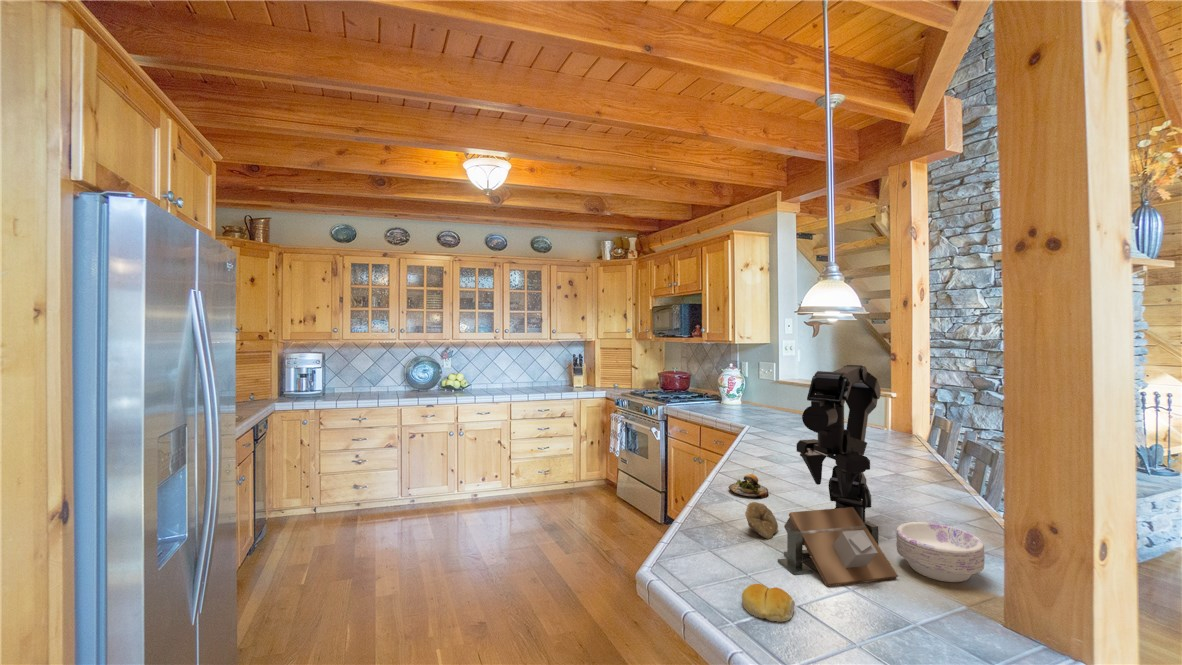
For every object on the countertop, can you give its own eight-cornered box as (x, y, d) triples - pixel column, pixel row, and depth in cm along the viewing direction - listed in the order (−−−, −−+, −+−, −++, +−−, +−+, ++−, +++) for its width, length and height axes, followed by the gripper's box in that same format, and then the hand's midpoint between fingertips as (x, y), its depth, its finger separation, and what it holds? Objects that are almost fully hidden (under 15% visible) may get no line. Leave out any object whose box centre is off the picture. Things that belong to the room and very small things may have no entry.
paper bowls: (883, 568, 107) (883, 531, 107) (913, 550, 116) (913, 515, 116) (968, 599, 95) (969, 557, 95) (995, 575, 104) (995, 537, 104)
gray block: (832, 545, 106) (843, 530, 103) (853, 543, 107) (864, 528, 104) (845, 568, 102) (857, 553, 99) (866, 565, 103) (879, 551, 100)
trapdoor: (843, 520, 118) (853, 506, 115) (885, 588, 106) (898, 575, 102) (781, 526, 115) (790, 512, 112) (817, 597, 102) (828, 583, 99)
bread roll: (747, 593, 98) (747, 572, 98) (797, 606, 93) (797, 585, 93) (735, 613, 91) (735, 591, 91) (788, 629, 86) (788, 606, 86)
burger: (721, 489, 161) (721, 466, 161) (753, 486, 164) (753, 463, 164) (743, 502, 149) (743, 477, 149) (777, 498, 153) (777, 473, 153)
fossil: (742, 513, 123) (755, 494, 131) (732, 523, 126) (745, 503, 134) (772, 542, 121) (783, 521, 129) (760, 551, 123) (772, 529, 131)
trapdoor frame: (861, 548, 117) (861, 514, 117) (889, 564, 109) (889, 528, 109) (771, 557, 113) (771, 522, 112) (793, 575, 104) (794, 537, 104)
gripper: (891, 430, 112) (891, 500, 112) (833, 416, 130) (833, 476, 130) (847, 433, 109) (847, 505, 109) (795, 418, 127) (795, 479, 128)
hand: (831, 490), depth 119 cm, fingers open, 9 cm apart
